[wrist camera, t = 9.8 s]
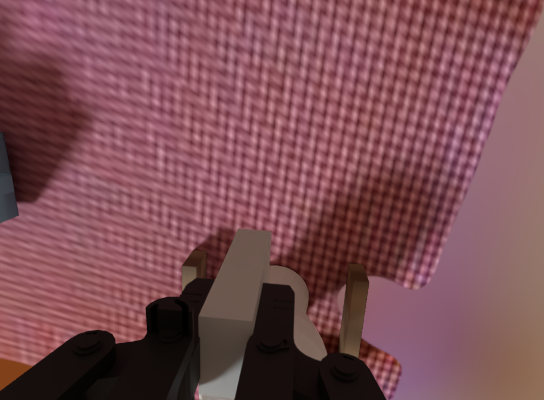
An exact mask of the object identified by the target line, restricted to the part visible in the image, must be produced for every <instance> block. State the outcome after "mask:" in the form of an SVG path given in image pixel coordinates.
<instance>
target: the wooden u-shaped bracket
mask: <svg viewBox="0 0 544 400" xmlns="http://www.w3.org/2000/svg"><path fill="white" fill-rule="evenodd" d="M195 278H204V279H206V251H200V250H193V251H192V253H191V254H190V255H189V257H188V258H187V260H186V261H185V262H184V264H183V265H182V291H183V290H184V288H185V286H186V285H187V284H188V283H189V282H191V281H192V280H194V279H195ZM368 287H369V280H368V278H367V275H366V272H365V269H364V267H363V264H352V263H349V267H348V275H347V283H346V292H345V300H344V307H343V315H342V323H341V330H340V338H339V346H338V353H347V354H350V355H353V356H355V357H357V358H358V356H359V349H360V342H361V335H362V329H363V322H364V314H365V308H366V301H367V294H368ZM328 354H329V353H327V355H328Z"/></svg>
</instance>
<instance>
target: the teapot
mask: <svg viewBox="0 0 544 400" xmlns="http://www.w3.org/2000/svg"><path fill="white" fill-rule="evenodd" d="M16 216H19V213H18V208H17V202H16V197H15V191H14V186H13V181H12V175H11V170H10V164H9V159H8V154H7V148H6V143H5V137H4V132H0V223H2V222H4V221H7V220H9V219H11V218H14V217H16Z"/></svg>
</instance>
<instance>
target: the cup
mask: <svg viewBox="0 0 544 400" xmlns="http://www.w3.org/2000/svg"><path fill="white" fill-rule="evenodd" d="M268 283H271V284H283V285H290V286H291V288H292V289H293V291H294V292H295V309H294V343H295V344H296V346H297V348H298V349H299V350H300V351H301V352H302V353H304V354H305V355H307V356H309V357H311V358H313V359H316V360H319V361H321V360H322V359H323V358H324V357H325V356H327V352H326V349H325V346H324V343H323V340H322V338H321V336H320V334H319V333H318V331H317V329H316V327H315V325H314V324H313V323H312V321H311V320H310V318H309V317H308V316H307V315H306V310H307V306H308V301H309V293H308V289H307V286H306V283H305V282H304V281H303V279H302V278H301V277H300V276H299V275H298V274H297V273H296V272H295V271H293V270H291V269H289V268H287V267H282V266H278V265H275V266H269V282H268ZM199 398H200V400H234V399H235V398H226V397H216V396H207V395H199Z"/></svg>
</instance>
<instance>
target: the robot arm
mask: <svg viewBox="0 0 544 400" xmlns="http://www.w3.org/2000/svg"><path fill="white" fill-rule="evenodd" d="M270 247H271V231H261V230H249V229H238V231H237V233H236V235H235V237H234V239H233V242H232V244H231V246H230V248H229V250H228V252H227V255H226V257H225V259H224V261H223V263H222V266H221V268H220V270H219V272H218V274H217V277H216V279H204V278H195V279H194V280H192V281H191V282H189V283H188V284H187V285H186V286H185V288H184V290H183V291H182V294H181V295H180V296H179V297H165V298H161V299H158V300H156V301H154V302H151V303H150V304H149V305H148V306H147V307H146V322H147V334H146V335H145V337H144V339H142V340H138V341H133V342H125V343H117V344H116V343H115V338H114V336H113V334H111V333H109V332H107V331H102V330H93V331H87V332H84V333H81V334H78V335H76V336H74V337H73V338H71V339H69V340H68V341H66V342H65V343H64V344H62V345H61V346H60V347H58V348H57V349H56V350H54V351H53V352H52V353H50V354H49V355H48V356H46V357H45V358H44V359H42V360H41V361H40V362H38V363H37V364H36V365H34V366H33V367H32V368H30V369H29V370H28V371H26V372H25V373H24V374H22V375H21V376H20V377H19V378H17V379H16V380H14V381H13V382H12V383H10V384H9V385H8V386H6V387H5V388H4V389H2V390H1V391H0V400H195V397H194V394H195V391H196V388H197V386H198V383H199V395H207V396H216V397H226V398H235V399H234V400H386V398H385V396H384V394H383V392H382V391H381V389H380V387H379V385H378V384H377V382H376V380H375V378H374V376H373V375H372V373H371V371H370V369H369V368H368V367H367V365H366V364H365V363H364V362H363V361H362V360H360V359H359V358H357V357H355V356H353V355H350V354H347V353H332V354H328V355H327V356H325V357H324V358H323V359H322V360H321V361H319V360H316V359H313V358H311V357H309V356H307V355H305V354H304V353H302V352H301V351H300V350H299V349H298V348H297V346H296V344H295V343H294V309H295V292H294V291H293V289H292V288H291V286H290V285H283V284H271V283H268V282H269V265H270Z"/></svg>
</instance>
